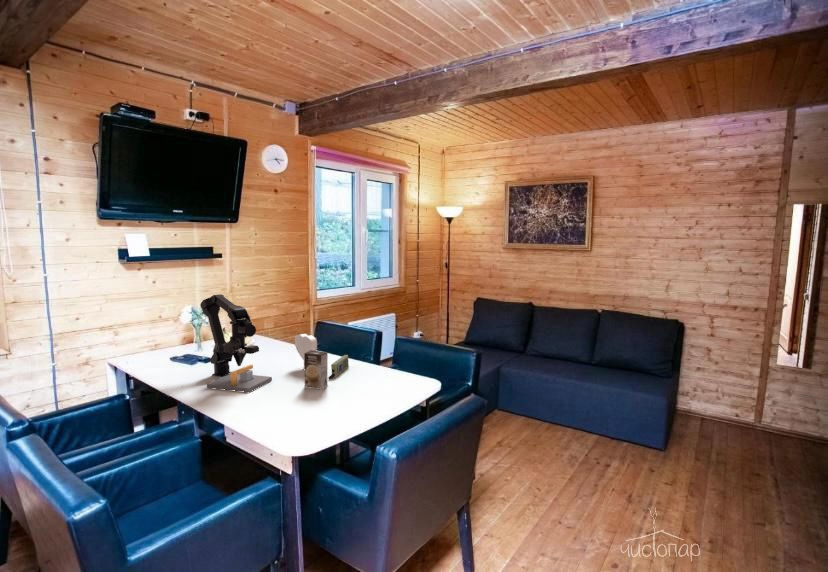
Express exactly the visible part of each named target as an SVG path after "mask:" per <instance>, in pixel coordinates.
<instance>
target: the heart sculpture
mask: <svg viewBox="0 0 828 572" xmlns="http://www.w3.org/2000/svg"><path fill="white" fill-rule="evenodd" d="M294 344H295V345H294V346H295V349H296V352H297V353H298V354H299V356H300V358H301V359H302V360H303V361H304V353H306V352H308V351H311V350H314V351H317V349H318V340H317V337H315V336H314V335H308V334H307V333H302V334H296V335H295V336H294ZM300 366H301V367H300V368H303V369H305V367H304V365H300Z"/></svg>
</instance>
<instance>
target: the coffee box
mask: <svg viewBox="0 0 828 572" xmlns="http://www.w3.org/2000/svg"><path fill="white" fill-rule="evenodd" d="M303 366H304V367H305V370H303V371H304V388H309V387H311V389H316V388H319V389H318V390H321V389H324V388H326V387H327V386H328V370H329V369H328V368H329V367H328V351H320V350H316V351H314V350H311V351H308V352H306V353H304V360H303ZM323 387H324V388H323Z"/></svg>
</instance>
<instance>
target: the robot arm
mask: <svg viewBox="0 0 828 572" xmlns="http://www.w3.org/2000/svg"><path fill="white" fill-rule="evenodd" d="M199 307H200V308H201V310H202V313H203V314H204V316H206V317H207V319H208V323H209V326H210V327H209V328H210V330H211V334H212V338H213V341H214V346H213V350H212V352H213V354H212V356H211V357H210V359H209V361H210V363H211V364H212V365H213V369H214V370H213V371H214V373H212V376H214V375H215V377H224V376H227V375H229V373H230V374H231V372H232V371H230V370H231V369H230V365H229V364H230V362H232V360H233V358H234V360H235V362H236V365H237V367H241V366H242V363H243V362H244V360H245V357H246V355H247V354H248V355H250V354H251V355H253V354H255V353H258V352H260V347H259V346H258V345H255V344H254V345H253V344H251V345H248V344H247V343H246V338H247V337H248V338H249V337H250V338H251V337H253V336H255V334H256V332H257V329H256V326H255V325H254V324H253V322H252V321H251V317H250V315H249V313H248V311H247V309H246V308H245V307H244V306H241V305H236V304H235V303H233V302H232V301H231V300H229V299H228V298H226V297H225V295H224V294H221V293H220V294H213V295H211V296H210V297H207V298H205V299H202V301H201V302H200V306H199ZM221 309H222V310H224V311H225V312H226V313H227V317H228V318H229V319H230V320H231V321H229V325H231V336H230V337H229V341H227V342H226V340H225V334H224V330H223V328H222V324H221V320H220V317H219V315H220V312H221V311H220V310H221Z"/></svg>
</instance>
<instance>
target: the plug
mask: <svg viewBox="0 0 828 572" xmlns="http://www.w3.org/2000/svg"><path fill="white" fill-rule="evenodd" d="M253 375H254V373H253V370H252V369H250V370H248V371H245V372H243V373H241V374H240V381H250V380H252V379H253Z"/></svg>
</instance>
